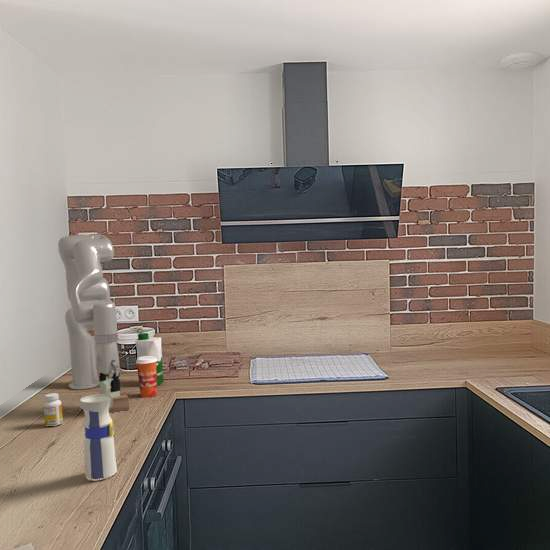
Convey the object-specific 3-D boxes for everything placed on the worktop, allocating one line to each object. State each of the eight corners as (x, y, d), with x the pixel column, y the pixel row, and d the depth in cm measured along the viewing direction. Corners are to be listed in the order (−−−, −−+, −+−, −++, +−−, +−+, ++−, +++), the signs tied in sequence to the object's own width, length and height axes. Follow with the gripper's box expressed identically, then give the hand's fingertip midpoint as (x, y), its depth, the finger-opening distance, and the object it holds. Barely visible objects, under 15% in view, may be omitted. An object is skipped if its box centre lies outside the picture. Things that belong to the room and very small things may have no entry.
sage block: (100, 396, 210) (99, 381, 210) (114, 393, 213) (113, 378, 213) (105, 398, 206) (104, 384, 206) (120, 396, 209) (119, 381, 209)
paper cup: (138, 399, 221) (135, 360, 220) (137, 394, 228) (134, 356, 227) (160, 396, 223) (158, 358, 222) (158, 391, 230) (156, 354, 229)
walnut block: (93, 409, 212) (92, 395, 212) (123, 404, 217) (122, 390, 216) (98, 416, 203) (97, 401, 203) (129, 411, 208) (128, 396, 207)
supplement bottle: (57, 421, 200) (54, 391, 199) (66, 423, 196) (64, 393, 195) (41, 425, 195) (39, 395, 195) (51, 428, 192) (48, 397, 191)
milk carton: (145, 381, 247) (142, 331, 246) (166, 381, 246) (163, 331, 244) (136, 387, 239) (132, 335, 237) (158, 387, 237) (154, 335, 236)
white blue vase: (122, 466, 157) (115, 370, 155) (114, 480, 149) (107, 378, 147) (89, 468, 157) (82, 372, 155) (80, 482, 149) (72, 380, 147)
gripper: (86, 337, 213) (90, 386, 214) (104, 343, 199) (108, 395, 200) (107, 334, 217) (110, 382, 219) (127, 340, 203) (130, 391, 205)
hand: (109, 388), depth 209 cm, fingers open, 9 cm apart
